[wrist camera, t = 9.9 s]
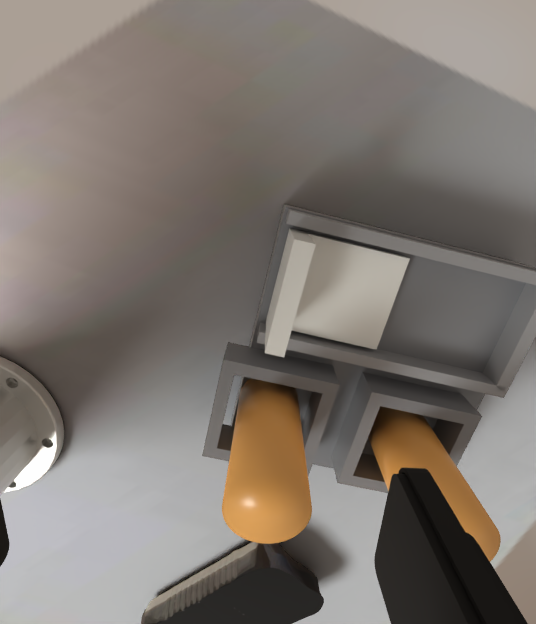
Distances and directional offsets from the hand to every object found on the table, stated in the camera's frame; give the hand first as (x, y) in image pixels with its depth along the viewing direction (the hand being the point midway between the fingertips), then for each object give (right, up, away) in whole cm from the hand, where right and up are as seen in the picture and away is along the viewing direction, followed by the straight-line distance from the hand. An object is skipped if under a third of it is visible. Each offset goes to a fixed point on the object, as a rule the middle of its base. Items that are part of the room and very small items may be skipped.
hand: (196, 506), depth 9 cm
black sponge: (-2, -22, +27) cm, 34 cm away
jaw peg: (+11, -3, +17) cm, 20 cm away
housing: (+9, +2, +18) cm, 20 cm away
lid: (+6, +6, +13) cm, 16 cm away
